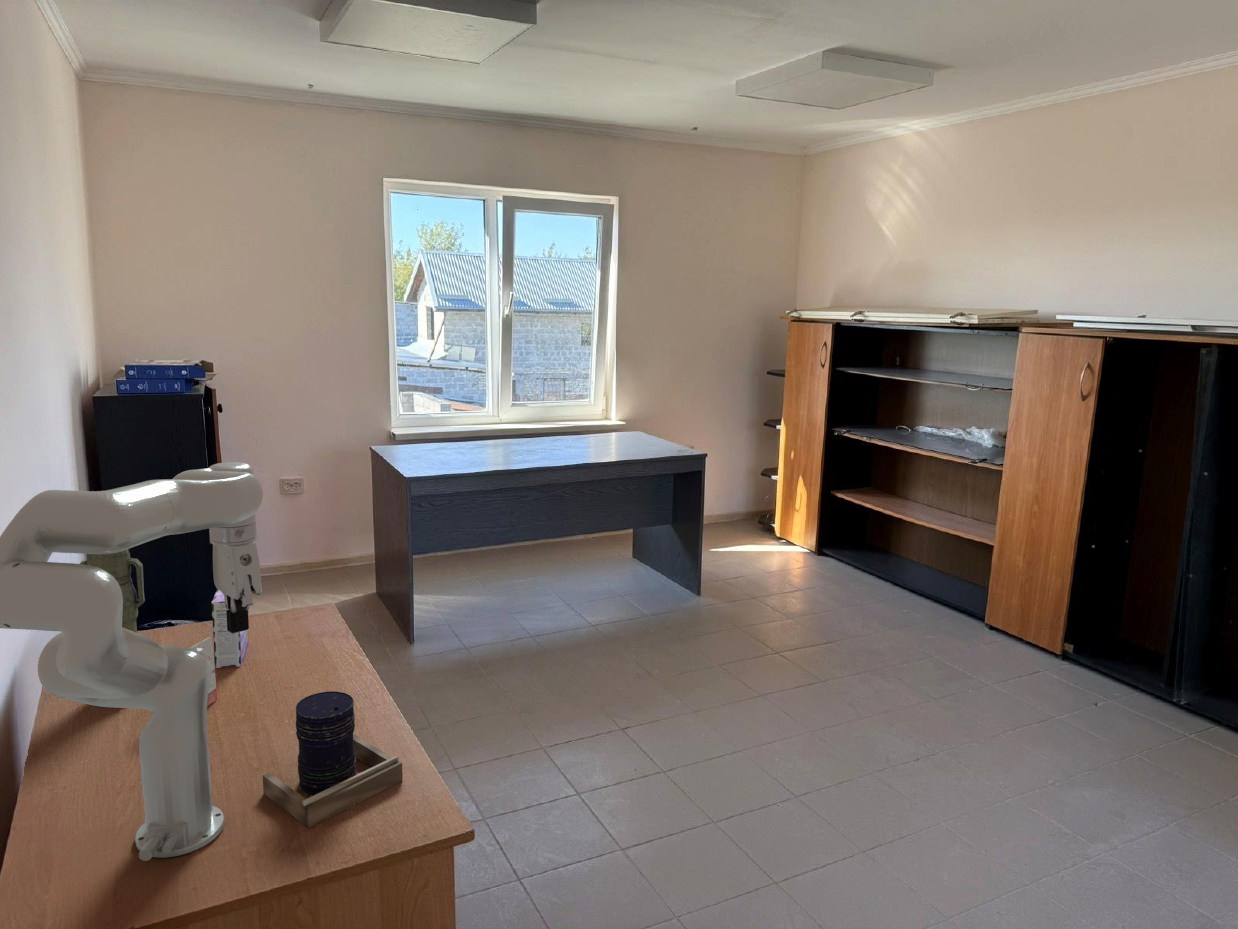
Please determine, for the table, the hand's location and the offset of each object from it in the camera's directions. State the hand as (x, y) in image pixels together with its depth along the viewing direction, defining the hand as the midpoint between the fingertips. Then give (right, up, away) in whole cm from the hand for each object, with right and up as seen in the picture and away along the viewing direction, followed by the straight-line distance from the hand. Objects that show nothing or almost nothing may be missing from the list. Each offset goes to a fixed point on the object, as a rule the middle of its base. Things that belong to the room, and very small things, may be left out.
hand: (238, 630), depth 148 cm
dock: (+18, -27, -2) cm, 33 cm away
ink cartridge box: (-20, -21, +23) cm, 37 cm away
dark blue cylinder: (+17, -27, -1) cm, 32 cm away
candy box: (-24, -16, +48) cm, 56 cm away
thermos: (-38, -20, +27) cm, 50 cm away
